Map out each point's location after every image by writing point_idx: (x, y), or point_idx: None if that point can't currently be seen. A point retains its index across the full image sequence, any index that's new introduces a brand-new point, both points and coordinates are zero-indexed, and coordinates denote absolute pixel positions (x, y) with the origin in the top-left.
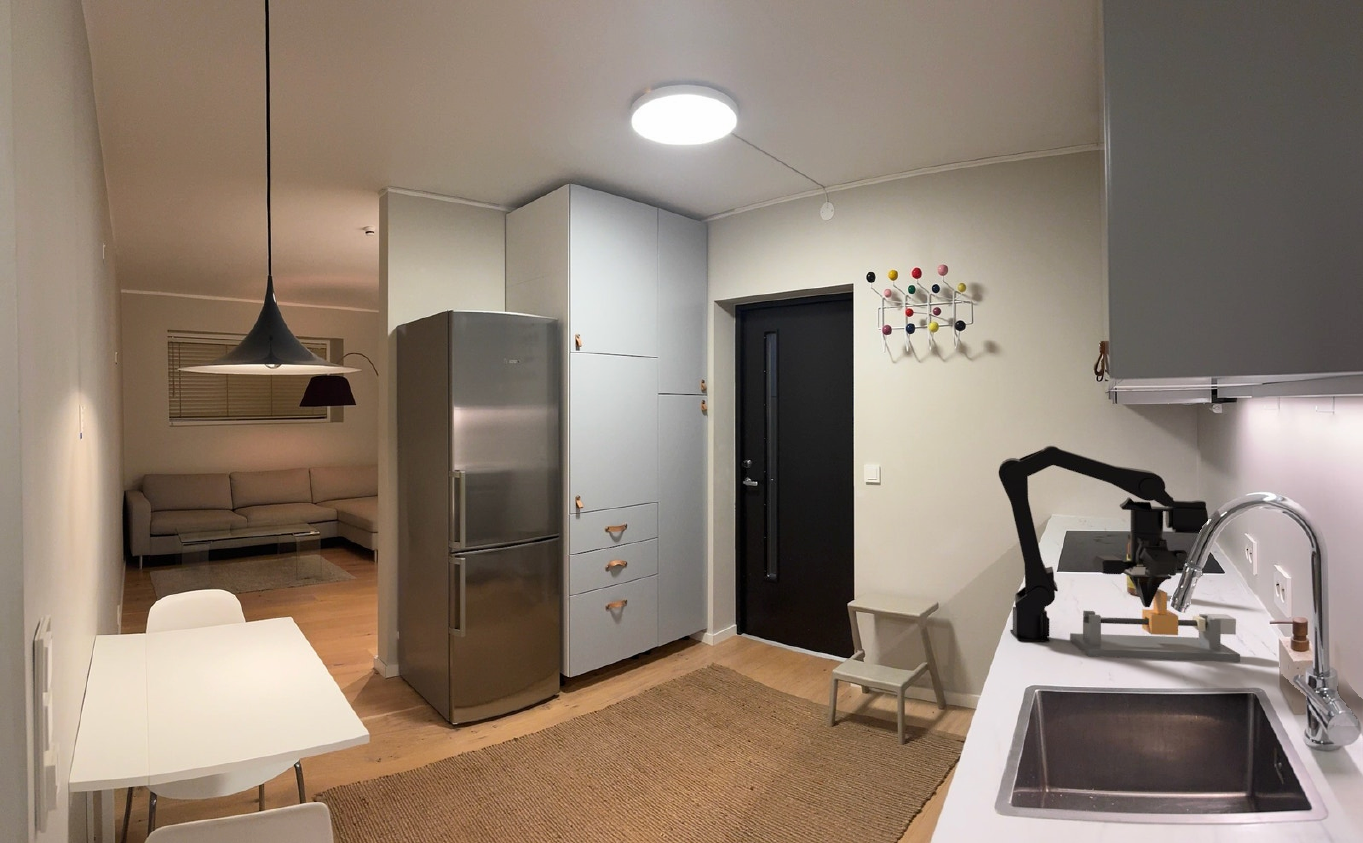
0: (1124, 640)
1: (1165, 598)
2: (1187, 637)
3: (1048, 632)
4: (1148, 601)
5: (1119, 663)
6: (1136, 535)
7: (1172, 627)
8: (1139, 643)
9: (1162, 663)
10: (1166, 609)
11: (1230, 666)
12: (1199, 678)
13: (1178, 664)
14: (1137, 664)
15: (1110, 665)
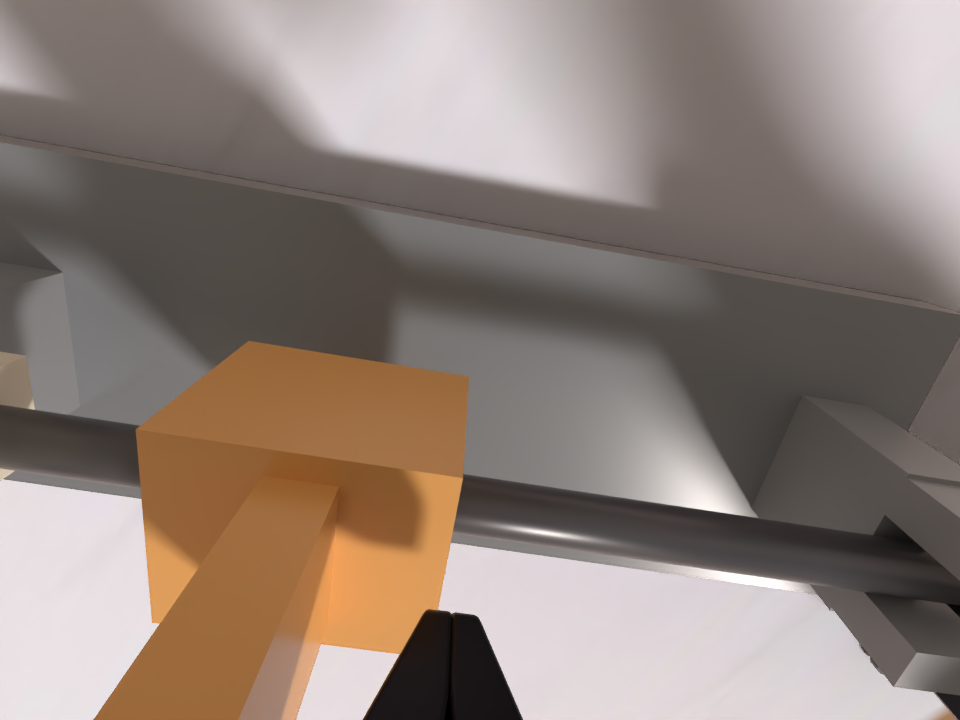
0: (575, 461)
1: (150, 684)
2: (114, 491)
3: (950, 607)
4: (448, 680)
5: (831, 151)
6: None
7: (269, 375)
8: (513, 402)
9: (521, 132)
10: (236, 521)
11: (48, 31)
12: None
13: (418, 103)
14: (719, 122)
15: (933, 112)
